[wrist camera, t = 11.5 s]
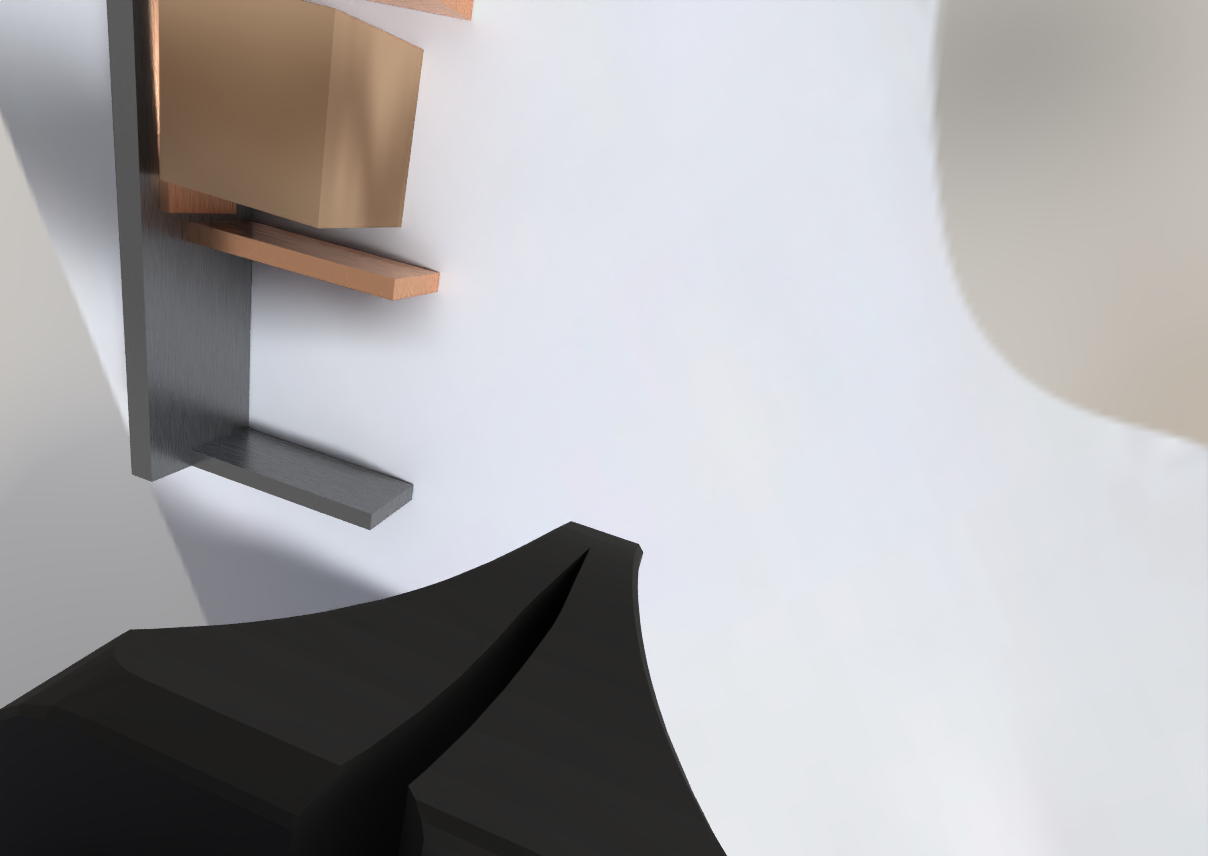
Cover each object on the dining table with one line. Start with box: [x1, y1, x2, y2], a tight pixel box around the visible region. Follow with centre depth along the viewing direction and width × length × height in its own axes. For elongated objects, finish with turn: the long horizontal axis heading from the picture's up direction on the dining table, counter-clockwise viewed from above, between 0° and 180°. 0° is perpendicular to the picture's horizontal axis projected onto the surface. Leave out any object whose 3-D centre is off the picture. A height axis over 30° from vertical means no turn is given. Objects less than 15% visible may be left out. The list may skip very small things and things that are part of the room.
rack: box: [107, 0, 473, 530], centre depth 18 cm, size 23×8×4 cm, turn 167°
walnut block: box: [159, 0, 424, 228], centre depth 18 cm, size 5×5×4 cm
